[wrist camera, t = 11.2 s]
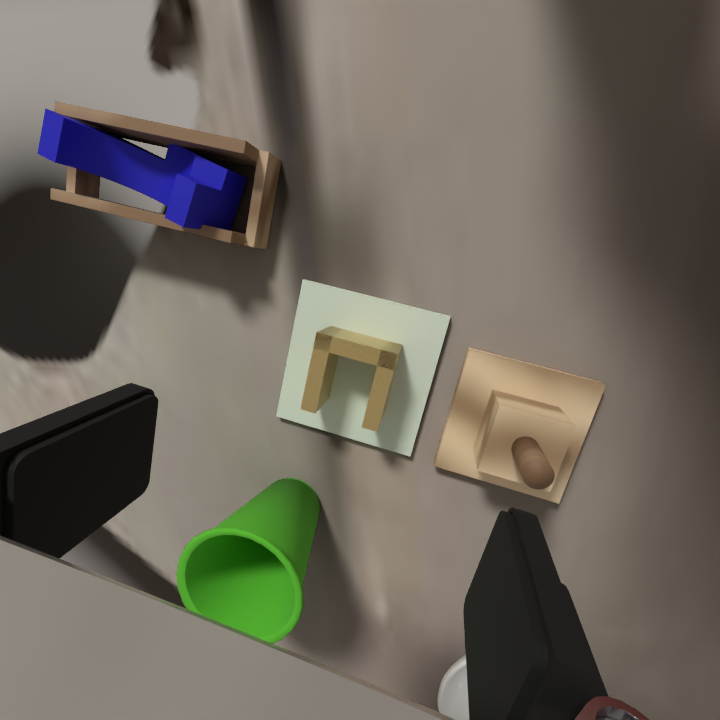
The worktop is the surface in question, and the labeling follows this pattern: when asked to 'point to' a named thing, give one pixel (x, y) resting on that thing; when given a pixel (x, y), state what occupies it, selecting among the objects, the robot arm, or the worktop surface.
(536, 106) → the worktop surface
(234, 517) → the cup
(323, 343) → the c link
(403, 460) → the worktop surface
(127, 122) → the clip holder
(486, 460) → the peg stand
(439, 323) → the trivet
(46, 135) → the blue stepped block
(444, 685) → the spoon rest
